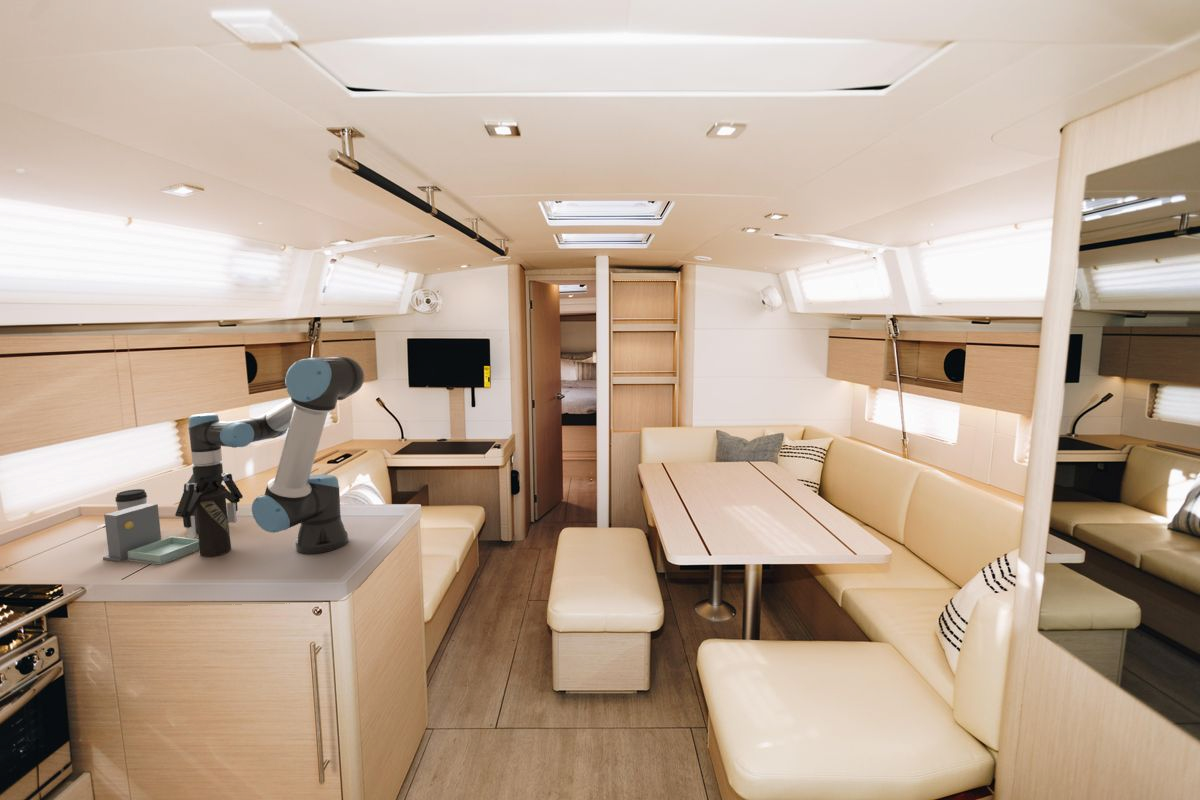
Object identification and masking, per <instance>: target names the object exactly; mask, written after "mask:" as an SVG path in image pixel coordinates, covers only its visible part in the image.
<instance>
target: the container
mask: <svg viewBox="0 0 1200 800" xmlns="http://www.w3.org/2000/svg"><path fill="white" fill-rule="evenodd" d="M199 493H201V492H199ZM227 494H228V492H227V491H226V490H221V489H218V490H215V491H211V492H208V493H206V495H203V496H201V497H200V500H201V501H200V502H199V504H198V506H197V507H196V514H197V526H198V533H197V536H198V538H197V539H199V550H198V551H199V555H200V556H202V557H215V556H221V555H225V554H226V553H228V552H230V551H231V550H232V546H231V545H232V542H231V535H230V534H231V533H230V527H229V526H230V524H229V522H228V512H227V499H226V496H227Z"/></svg>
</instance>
